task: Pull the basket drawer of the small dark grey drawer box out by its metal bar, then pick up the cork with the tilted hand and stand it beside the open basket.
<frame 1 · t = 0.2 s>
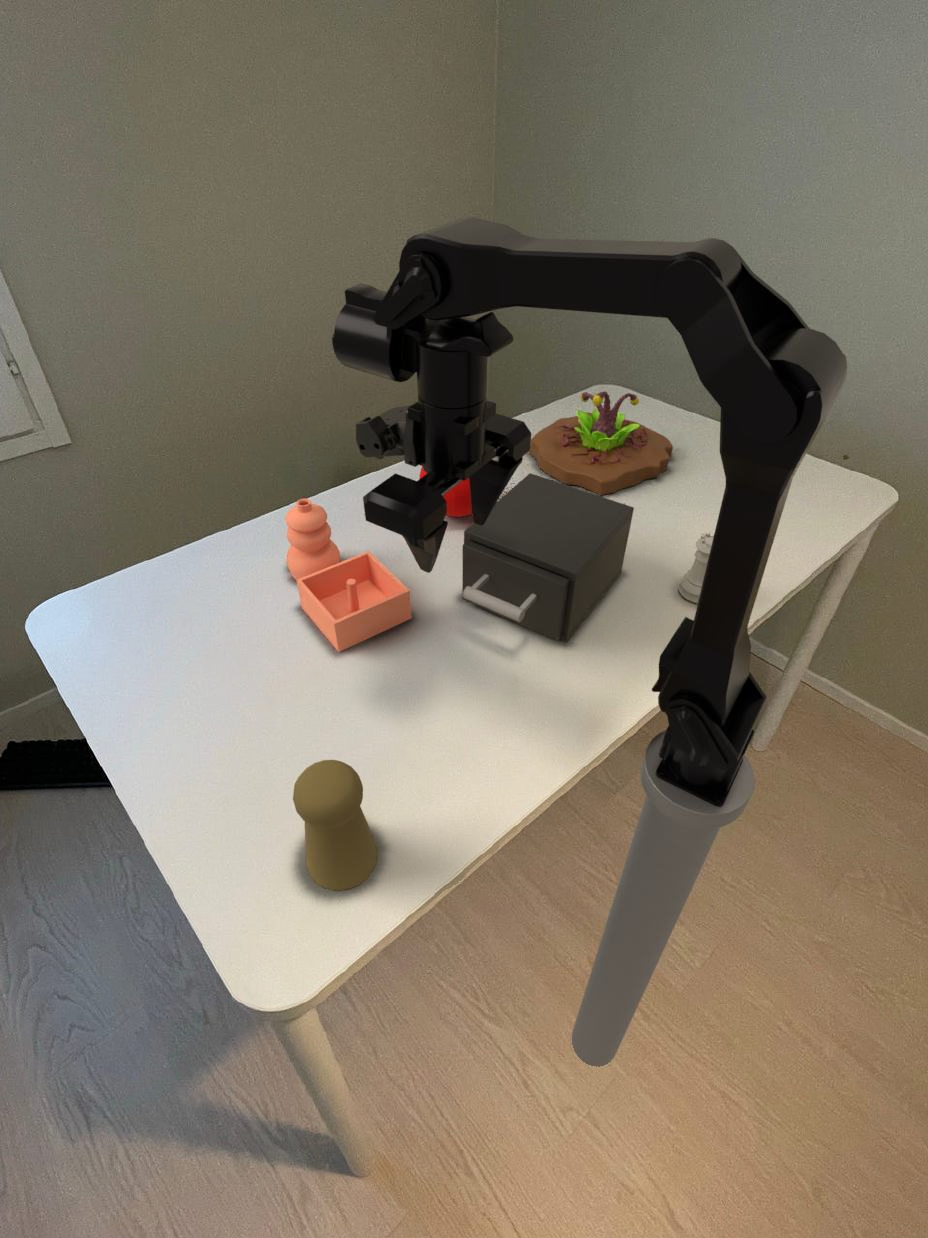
hand: (453, 546, 69), 14 cm above the table, tool pointing down, fingers open, 9 cm apart
rook chess piece: (695, 594, 85), on the table
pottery: (338, 594, 85), on the table
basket: (531, 570, 80), point 5 cm above the table, slide at 0.0 cm, touching dark grey drawer box
tomato: (457, 510, 98), on the table
plant: (597, 458, 109), on the table
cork: (342, 857, 60), on the table
dark grey drawer box: (543, 585, 86), on the table
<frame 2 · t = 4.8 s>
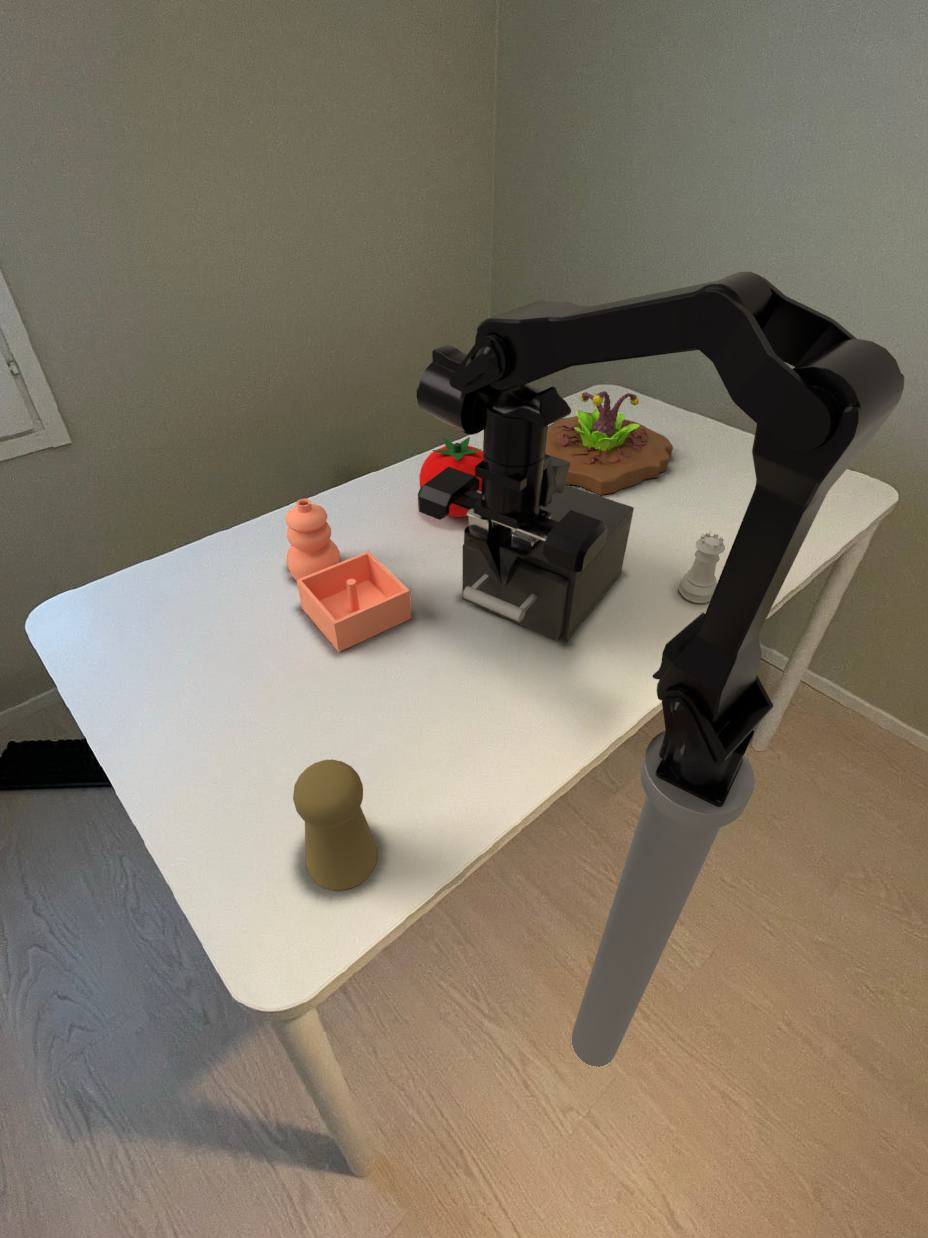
hand: (504, 582, 75), 7 cm above the table, tool pointing down, fingers closed
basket: (531, 570, 80), point 5 cm above the table, slide at 0.0 cm, touching dark grey drawer box, gripper
everything else where it was.
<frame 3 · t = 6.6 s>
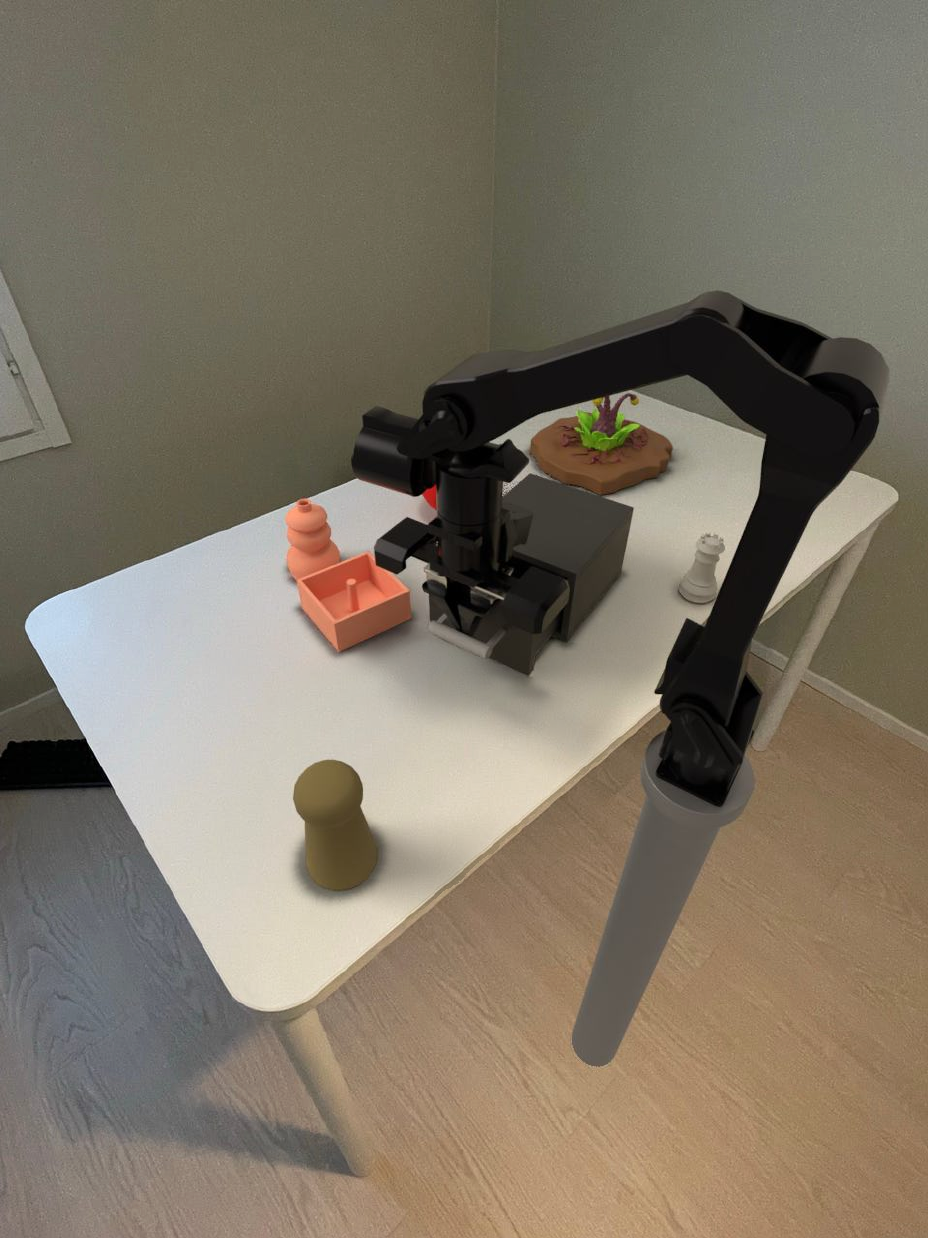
hand: (467, 636, 72), 5 cm above the table, tool pointing down, fingers closed, pressing on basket
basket: (501, 602, 76), point 5 cm above the table, slide at 6.5 cm, touching gripper
everything else where it was.
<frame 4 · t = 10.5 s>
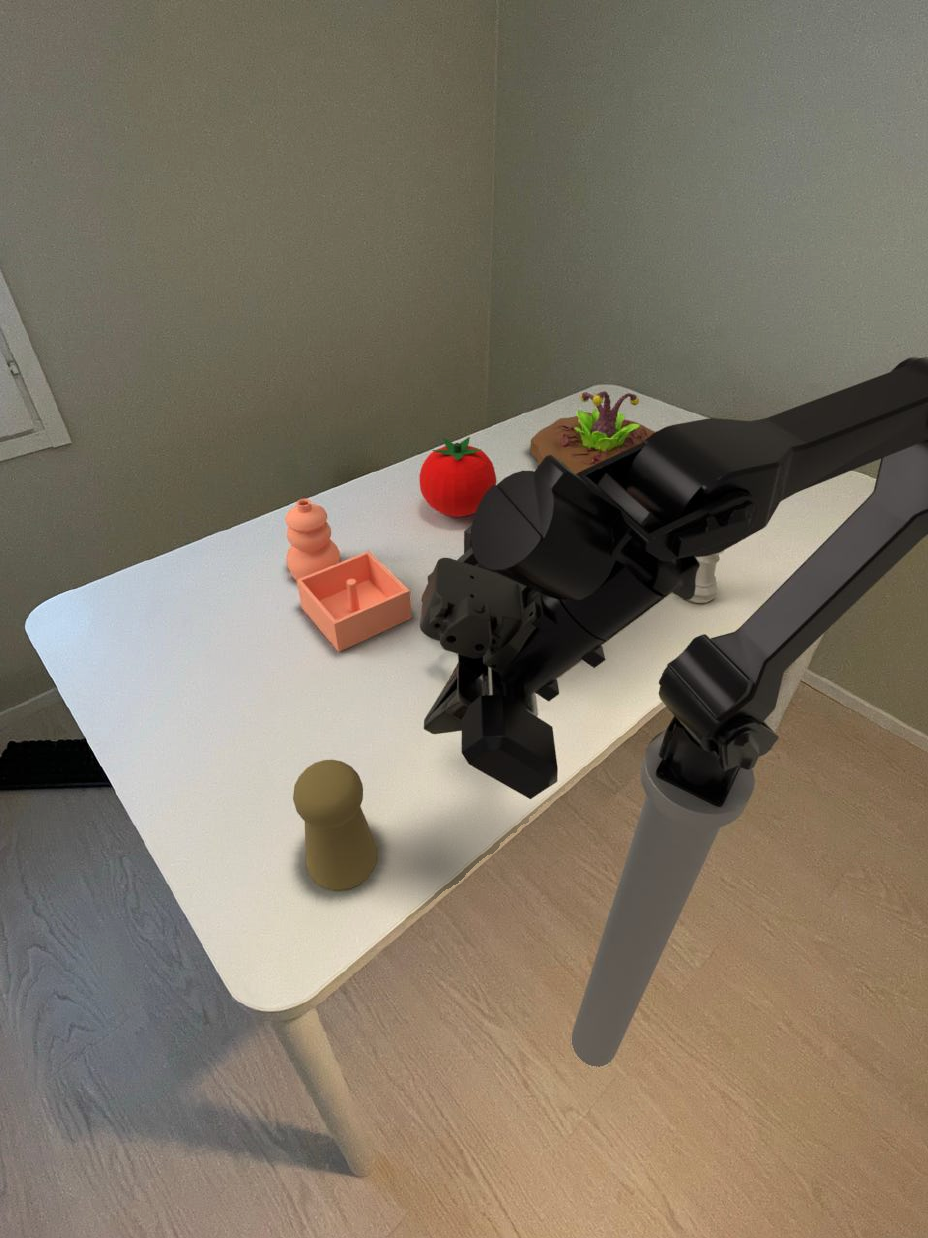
hand: (428, 728, 53), 13 cm above the table, tool tilted 40°, fingers closed
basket: (501, 602, 76), point 5 cm above the table, slide at 6.6 cm
everything else where it was.
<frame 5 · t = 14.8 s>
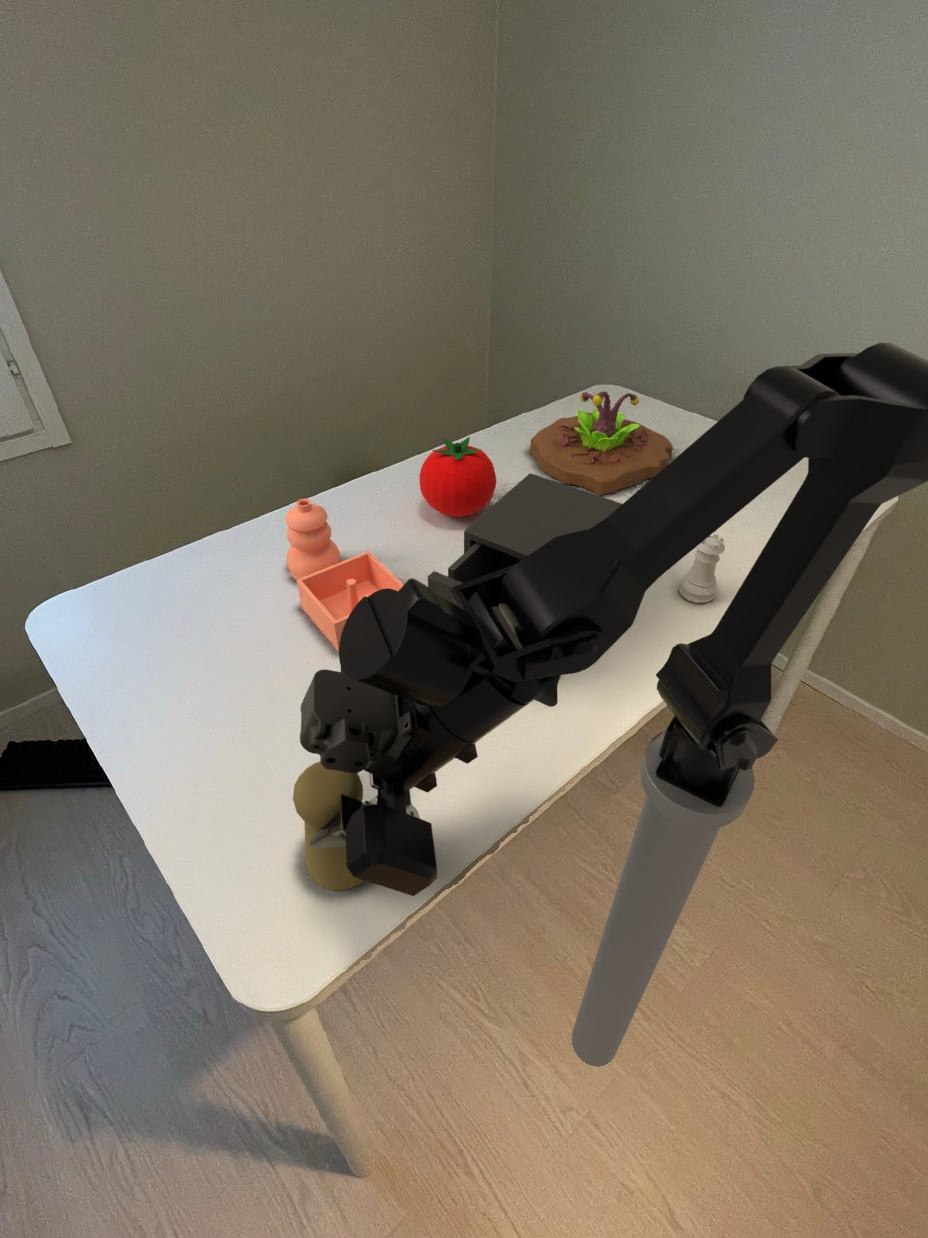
hand: (314, 815, 55), 7 cm above the table, tool tilted 45°, fingers closed on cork, 5 cm apart
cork: (342, 857, 60), on the table, touching gripper
everything else where it was.
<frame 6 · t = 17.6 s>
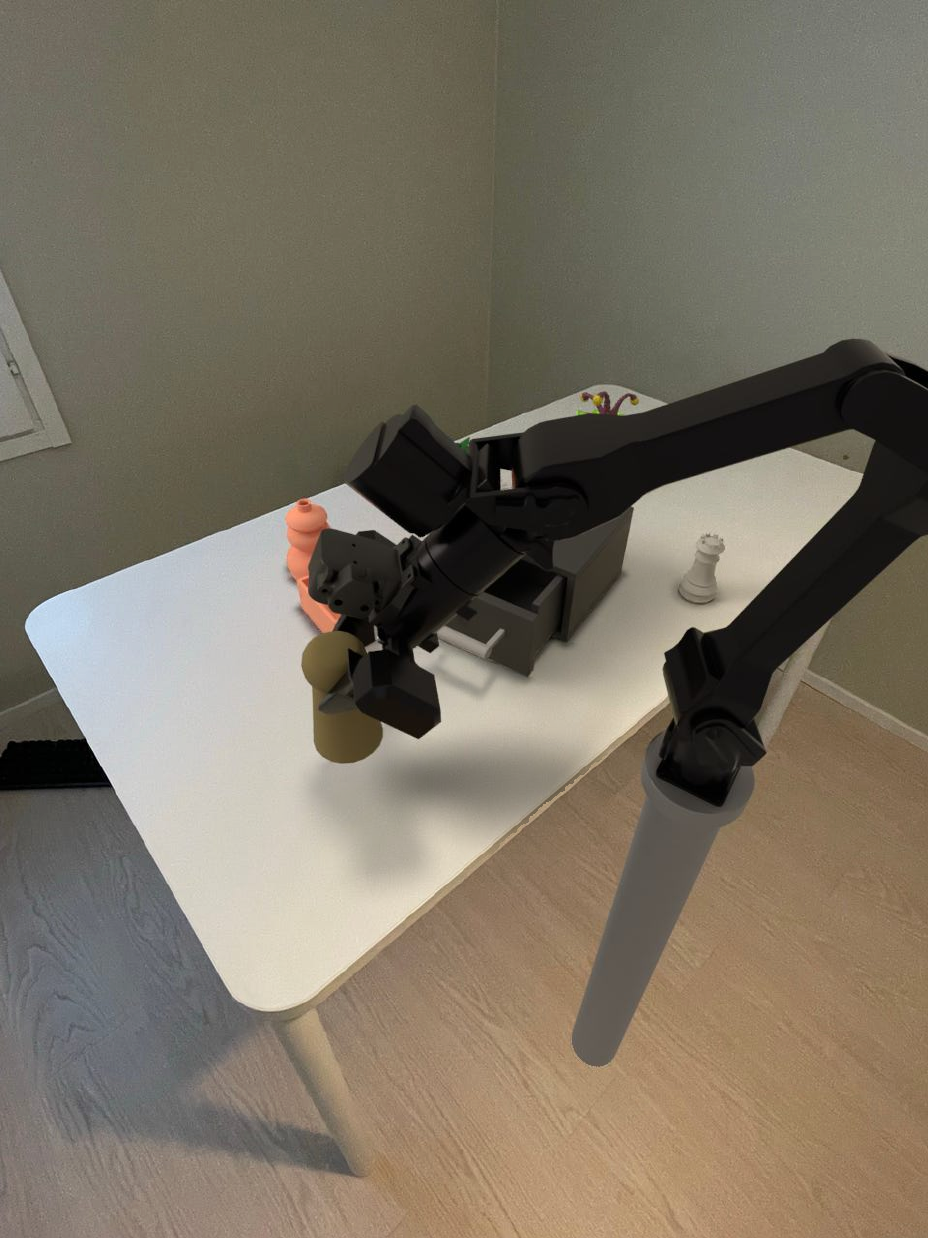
hand: (322, 686, 57), 12 cm above the table, tool tilted 45°, fingers closed on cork, 5 cm apart
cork: (348, 736, 62), point 6 cm above the table, touching gripper
everything else where it was.
when the fingers open (7 cm above the table, at t = 20.4 s): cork stays where it is, on the table.
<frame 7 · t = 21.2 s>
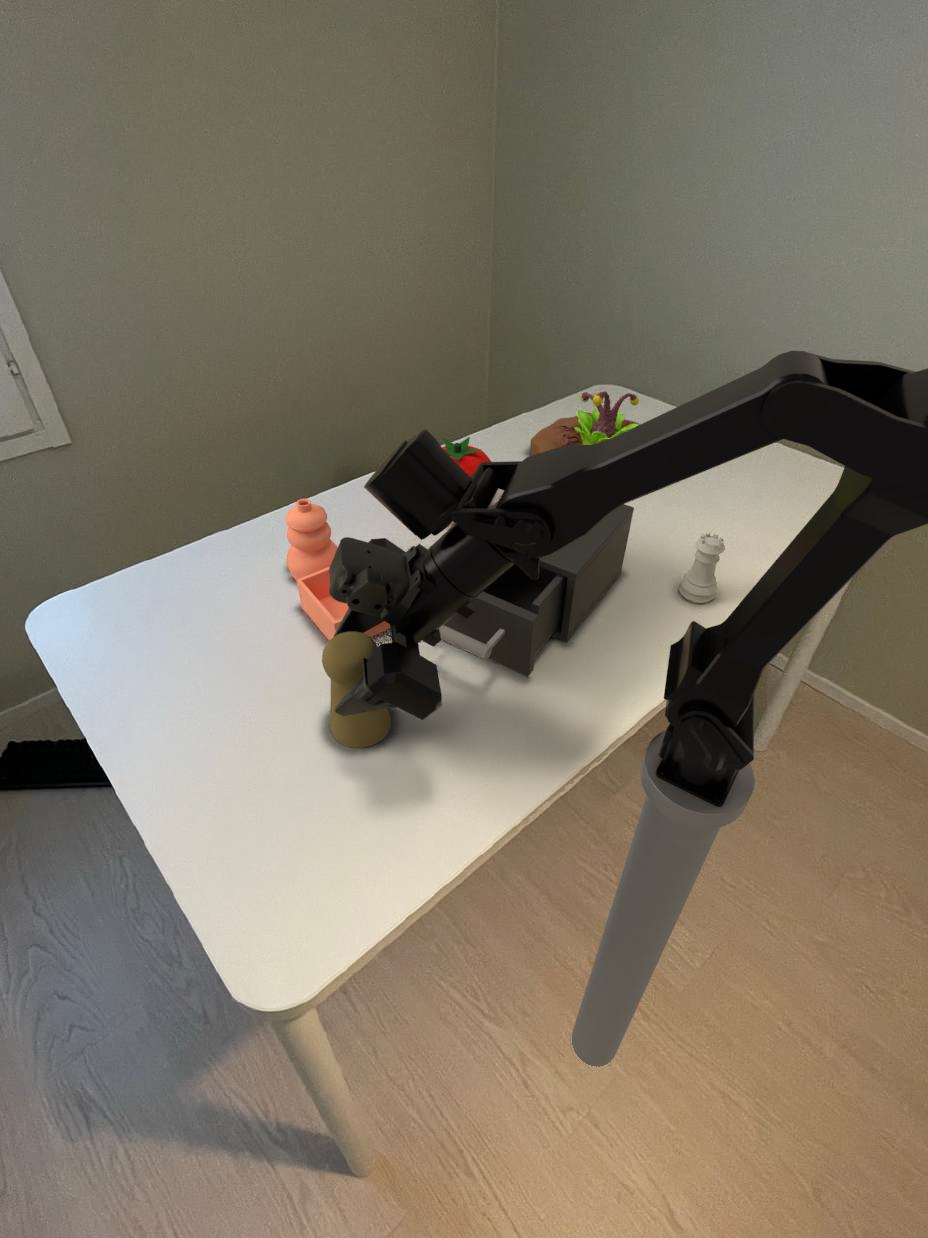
hand: (337, 674, 65), 7 cm above the table, tool tilted 45°, fingers open, 9 cm apart
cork: (361, 724, 70), on the table
everything else where it was.
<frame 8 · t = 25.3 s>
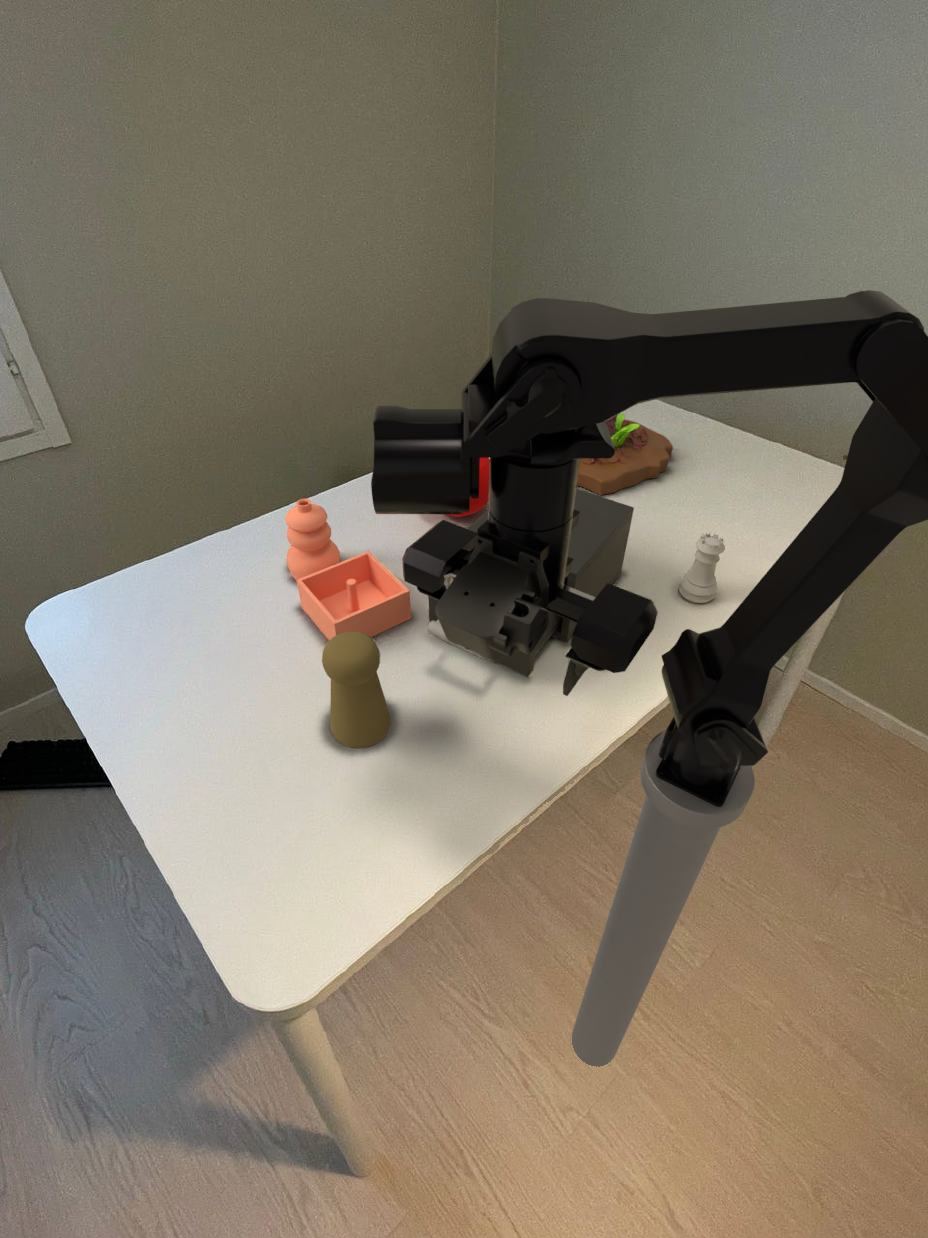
hand: (517, 668, 58), 13 cm above the table, tool pointing down, fingers open, 9 cm apart
nothing on the table moved.
at the end: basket slide at 6.6 cm; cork 0.1 cm from the target spot, on the table; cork tilted 0° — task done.
